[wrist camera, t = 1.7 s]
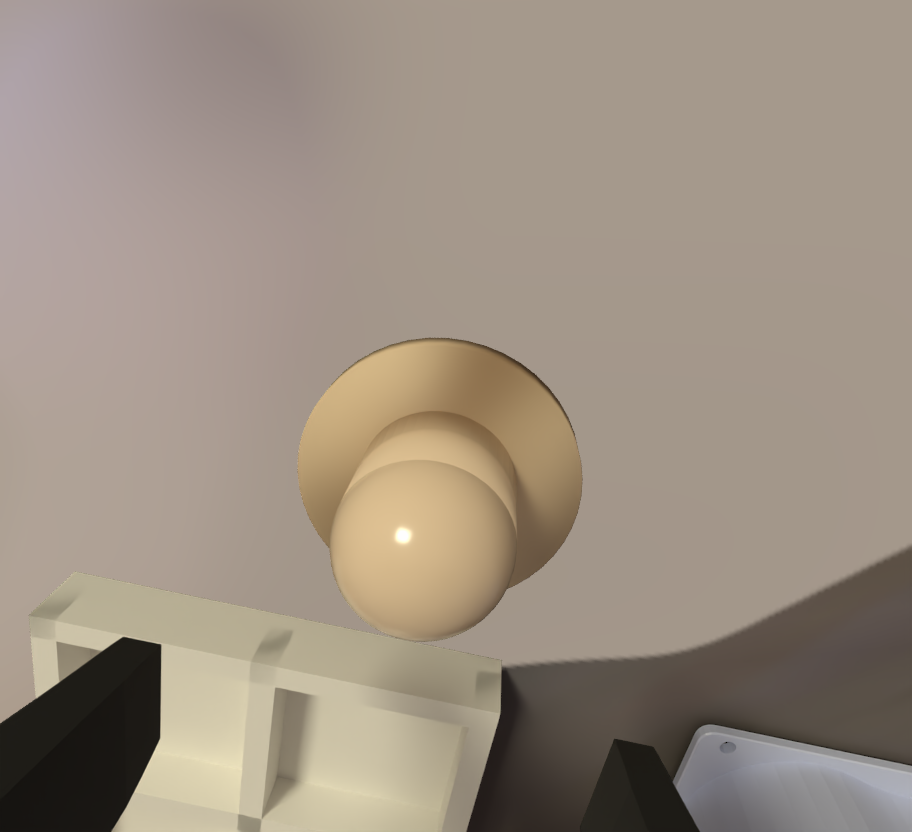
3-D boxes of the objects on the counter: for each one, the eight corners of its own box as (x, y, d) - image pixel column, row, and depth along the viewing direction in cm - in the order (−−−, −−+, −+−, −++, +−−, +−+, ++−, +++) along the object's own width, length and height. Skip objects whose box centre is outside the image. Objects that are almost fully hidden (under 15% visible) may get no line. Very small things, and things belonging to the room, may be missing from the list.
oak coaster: (613, 370, 17) (617, 380, 16) (542, 607, 20) (543, 624, 19) (320, 310, 17) (312, 317, 16) (294, 556, 20) (286, 571, 20)
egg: (532, 429, 17) (540, 535, 12) (497, 563, 19) (493, 703, 14) (371, 396, 17) (316, 488, 12) (351, 533, 19) (295, 662, 14)
